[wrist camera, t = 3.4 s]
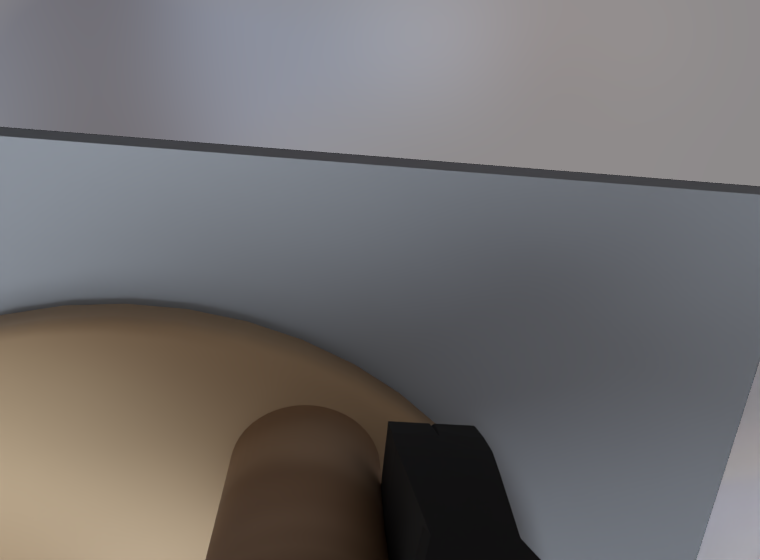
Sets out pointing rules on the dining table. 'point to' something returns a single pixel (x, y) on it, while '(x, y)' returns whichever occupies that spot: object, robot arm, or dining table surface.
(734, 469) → the dining table surface
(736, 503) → the dining table surface
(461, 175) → the grey flat square board
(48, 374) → the dial
